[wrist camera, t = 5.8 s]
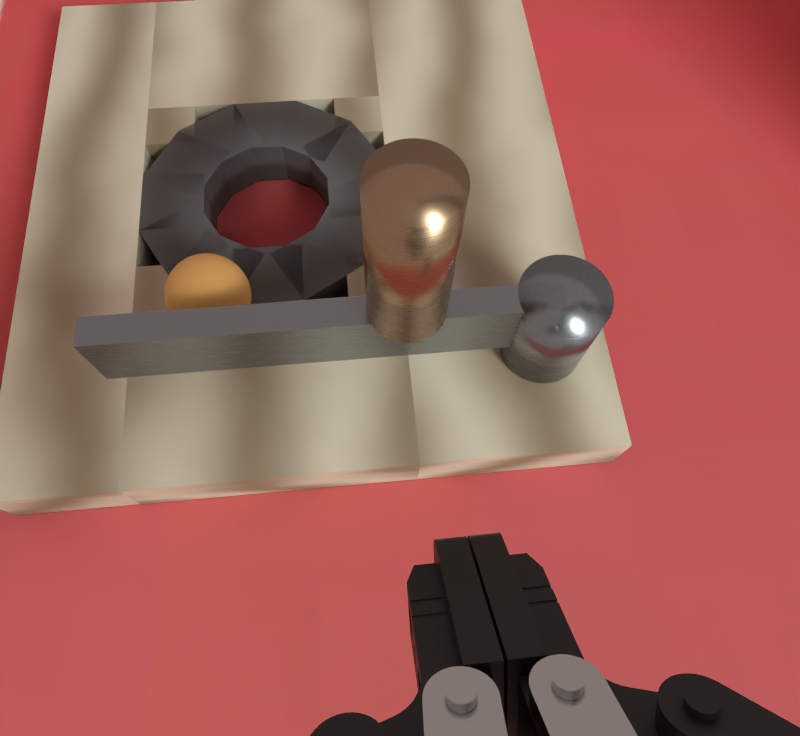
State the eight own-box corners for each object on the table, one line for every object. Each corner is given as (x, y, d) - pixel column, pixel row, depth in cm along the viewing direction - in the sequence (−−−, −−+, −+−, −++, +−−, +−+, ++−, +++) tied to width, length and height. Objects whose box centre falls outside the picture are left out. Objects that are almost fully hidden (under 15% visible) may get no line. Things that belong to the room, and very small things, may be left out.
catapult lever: (571, 306, 29) (677, 114, 18) (588, 379, 27) (713, 216, 17) (124, 340, 28) (-34, 156, 17) (117, 419, 26) (-58, 269, 16)
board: (510, 23, 40) (517, -15, 38) (612, 461, 29) (631, 445, 26) (81, 45, 38) (62, 6, 36) (16, 515, 27) (-18, 503, 25)
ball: (257, 278, 29) (242, 233, 26) (258, 347, 28) (242, 308, 25) (180, 284, 29) (154, 239, 26) (177, 353, 28) (149, 315, 24)
